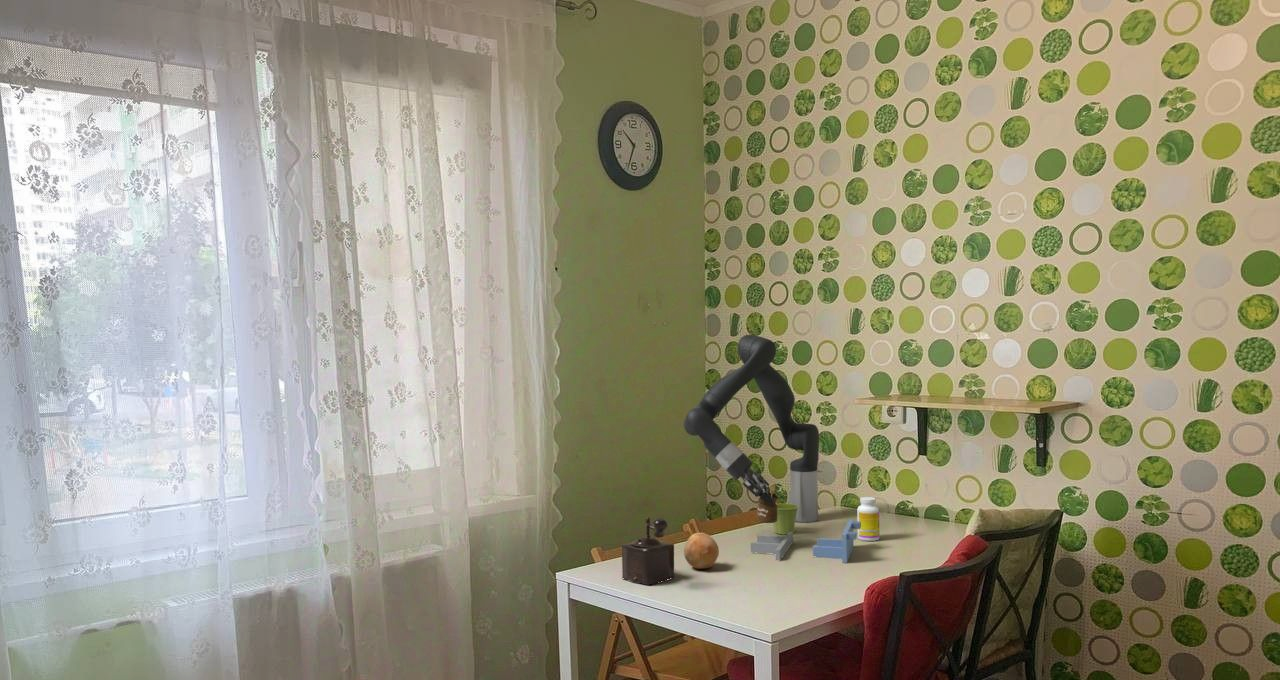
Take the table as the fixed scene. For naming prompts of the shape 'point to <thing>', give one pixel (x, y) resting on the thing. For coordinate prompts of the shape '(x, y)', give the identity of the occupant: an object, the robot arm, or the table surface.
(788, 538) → the grey rail with prongs
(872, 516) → the supplement bottle
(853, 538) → the blue rail with prongs
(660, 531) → the manual coffee grinder
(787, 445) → the robot arm
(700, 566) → the onion
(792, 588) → the table surface
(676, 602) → the table surface
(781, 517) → the plant pot
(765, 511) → the utensil holder
